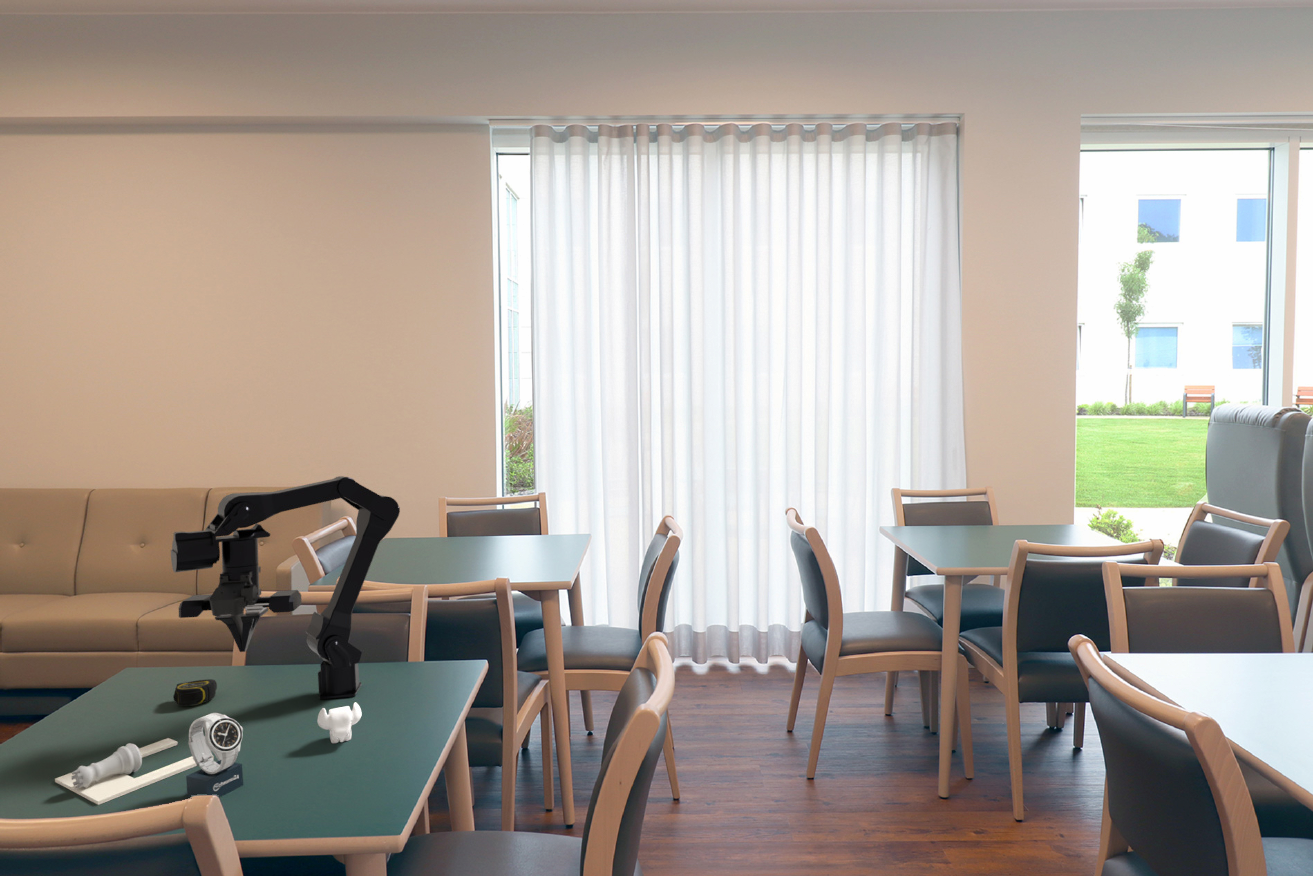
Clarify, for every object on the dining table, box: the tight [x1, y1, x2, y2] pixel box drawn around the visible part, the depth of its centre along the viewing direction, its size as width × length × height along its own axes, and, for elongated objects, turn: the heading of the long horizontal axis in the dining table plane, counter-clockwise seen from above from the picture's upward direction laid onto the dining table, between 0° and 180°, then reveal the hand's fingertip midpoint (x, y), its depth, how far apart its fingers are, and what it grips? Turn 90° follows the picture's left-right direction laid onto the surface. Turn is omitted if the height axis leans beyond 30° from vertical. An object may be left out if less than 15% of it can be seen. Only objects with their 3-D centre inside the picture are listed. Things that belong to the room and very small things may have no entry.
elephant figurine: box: [317, 702, 363, 744], centre depth 128 cm, size 7×8×6 cm
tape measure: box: [172, 678, 218, 707], centre depth 148 cm, size 7×7×4 cm
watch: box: [185, 712, 244, 798], centre depth 112 cm, size 6×8×11 cm
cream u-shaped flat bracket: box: [54, 737, 215, 806], centre depth 120 cm, size 16×14×1 cm
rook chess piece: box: [71, 742, 143, 788], centre depth 116 cm, size 4×4×8 cm
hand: (243, 651), depth 139 cm, fingers closed
